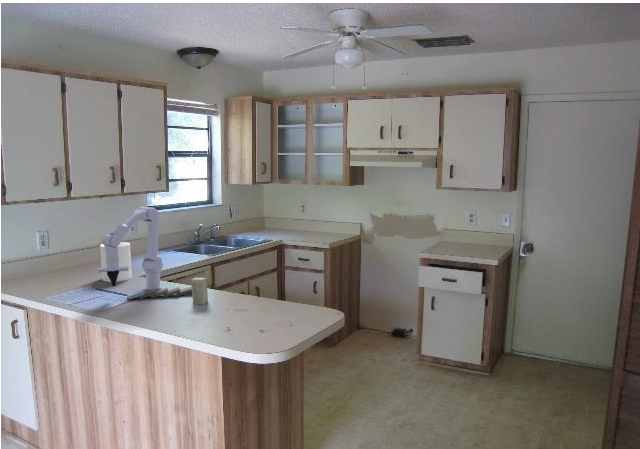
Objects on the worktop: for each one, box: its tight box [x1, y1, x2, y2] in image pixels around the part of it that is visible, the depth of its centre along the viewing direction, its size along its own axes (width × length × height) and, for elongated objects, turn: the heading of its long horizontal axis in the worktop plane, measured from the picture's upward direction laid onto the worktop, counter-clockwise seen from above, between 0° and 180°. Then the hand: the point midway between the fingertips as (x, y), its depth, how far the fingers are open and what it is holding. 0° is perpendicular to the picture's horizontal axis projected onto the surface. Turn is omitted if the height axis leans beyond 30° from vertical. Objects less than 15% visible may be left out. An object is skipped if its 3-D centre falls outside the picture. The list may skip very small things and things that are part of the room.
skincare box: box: [191, 277, 209, 305], centre depth 241 cm, size 6×4×12 cm
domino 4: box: [162, 287, 181, 298], centre depth 253 cm, size 5×2×8 cm
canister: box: [99, 241, 133, 283], centre depth 287 cm, size 16×16×20 cm
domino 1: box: [126, 288, 146, 300], centre depth 249 cm, size 5×2×8 cm
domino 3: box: [150, 287, 169, 299], centre depth 252 cm, size 5×2×8 cm
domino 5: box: [176, 286, 192, 297], centre depth 256 cm, size 5×2×8 cm
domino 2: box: [138, 288, 158, 300], centre depth 251 cm, size 5×2×8 cm
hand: (114, 285), depth 246 cm, fingers closed
